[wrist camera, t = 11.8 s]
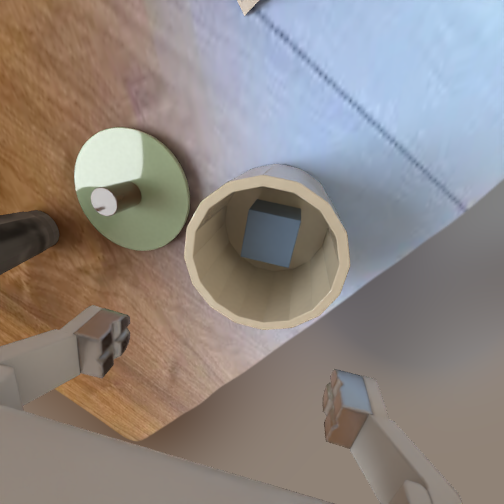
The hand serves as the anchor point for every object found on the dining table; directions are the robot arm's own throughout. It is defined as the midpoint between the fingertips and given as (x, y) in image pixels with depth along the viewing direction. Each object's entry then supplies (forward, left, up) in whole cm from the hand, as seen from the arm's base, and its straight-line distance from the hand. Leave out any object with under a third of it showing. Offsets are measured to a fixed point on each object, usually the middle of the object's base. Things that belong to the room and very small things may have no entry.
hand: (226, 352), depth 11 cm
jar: (0, 0, -19) cm, 19 cm away
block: (0, 0, -18) cm, 18 cm away
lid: (-15, 0, -18) cm, 23 cm away
